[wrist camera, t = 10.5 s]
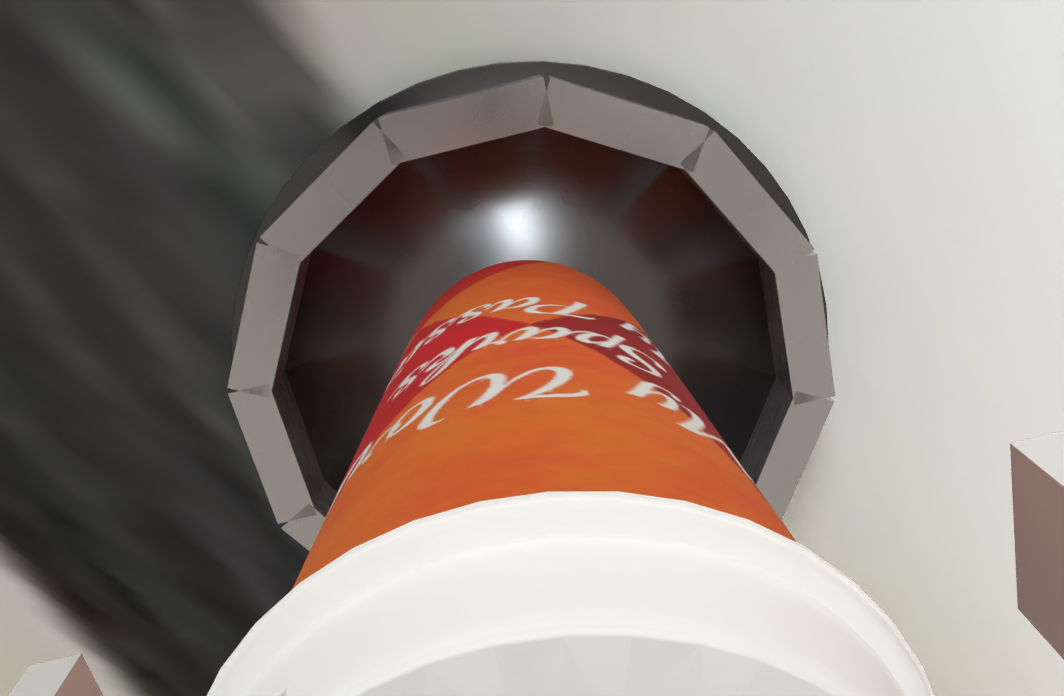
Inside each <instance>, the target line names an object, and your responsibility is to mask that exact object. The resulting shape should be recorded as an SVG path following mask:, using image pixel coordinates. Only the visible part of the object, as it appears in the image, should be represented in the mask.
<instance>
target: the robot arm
mask: <svg viewBox="0 0 1064 696" xmlns="http://www.w3.org/2000/svg"><path fill="white" fill-rule="evenodd" d="M1010 450H1011V471H1012V492H1013V514H1014V535H1015V557H1016V578H1017V599H1018V609H1019V610H1020V611H1021V612H1022V613H1023V615H1024V616H1025V617H1026V618H1027V619H1028V620H1029V621H1030V622H1031V624H1032V625H1033V626H1034V627H1035V628H1036V629H1037V630H1038V631H1039V632H1040V634H1041V635H1042V636H1043V637H1044V638H1045V639H1046V640H1047V641H1048V642H1049V644H1050V645H1051V646H1052V647H1053V648H1054V649H1055V650H1056V651H1057V653H1058V654H1059V655H1060V656H1061V657H1062V658H1063V659H1064V431H1061V432H1057V433H1052V434H1048V435H1043V436H1039V437H1035V438H1030V439H1026V440H1021V441H1017V442H1013V443H1010ZM8 696H103V695H102V693H101V691H100V689H99V687H98V685H97V683H96V681H95V679H94V677H93V675H92V673H91V671H90V669H89V667H88V665H87V663H86V662H85V660H84V658H83V656H82V654H77V655H72V656H68V657H64V658H59V659H55V660H50V661H46V662H41V663H37V664H33V665H29V667H28V668H27V669H26V671H25V672H24V674H23V675H22V676H21V678H20V679H19V681H18V682H17V683H16V685H15V686H14V688H13V689H12V690H11V692H10V693H9V695H8Z"/></svg>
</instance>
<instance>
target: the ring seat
mask: <svg viewBox="0 0 1064 696" xmlns="http://www.w3.org/2000/svg"><path fill="white" fill-rule="evenodd" d="M813 250H814V248H813V246H812V245H811V244H810V242H809V239H808V236H807V233H806V231H805V229H804V227H803V225H802V223H801V222H800V220H799V218H798V216H797V214H796V212H795V210H794V208H793V206H792V204H791V202H790V201H789V199H788V197H787V196H786V194H785V193H784V192H783V190H782V189H781V188H780V186H779V185H778V183H777V182H776V181H775V179H774V178H773V176H772V175H771V174H770V172H769V171H768V170H767V168H766V167H765V166H764V165H763V164H762V163H761V162H760V161H759V160H758V158H757V157H756V156H755V155H754V154H753V153H752V152H751V151H750V150H749V149H748V148H747V147H746V146H745V145H744V144H743V143H742V142H741V141H740V140H739V139H738V138H737V137H736V136H735V135H733V134H732V133H731V132H729V131H728V130H727V129H725V128H724V127H723V126H722V125H720V124H719V123H718V122H716V121H715V120H714V119H713V118H711V117H710V116H709V115H707V114H706V113H705V112H703V111H701V110H699V109H698V108H696V107H694V106H692V105H691V104H689V103H687V102H685V101H684V100H682V99H680V98H678V97H677V96H675V95H673V94H671V93H670V92H667V91H665V90H662V89H660V88H657V87H655V86H652V85H650V84H647V83H645V82H642V81H640V80H637V79H635V78H632V77H630V76H627V75H623V74H619V73H615V72H611V71H607V70H602V69H598V68H594V67H590V66H586V65H578V64H568V63H558V62H548V61H529V62H503V63H495V64H489V65H484V66H478V67H472V68H467V69H461V70H457V71H454V72H451V73H447V74H444V75H441V76H438V77H435V78H432V79H429V80H426V81H423V82H420V83H417V84H415V85H413V86H411V87H409V88H407V89H405V90H403V91H401V92H398V93H396V94H394V95H392V96H390V97H388V98H386V99H384V100H382V101H380V102H378V103H377V104H375V105H374V106H372V107H371V108H369V109H368V110H366V111H365V112H363V113H362V114H360V115H359V116H357V117H356V118H354V119H353V120H351V121H350V122H348V123H347V124H345V125H344V126H342V127H341V128H340V129H339V130H338V131H337V132H335V133H334V134H333V135H332V136H331V137H330V138H329V139H328V140H327V141H325V142H324V143H323V144H322V145H321V146H320V147H319V148H318V149H317V150H315V151H314V152H313V153H312V154H311V155H310V156H309V157H308V158H307V160H306V161H305V162H304V163H303V164H302V166H301V167H300V168H299V169H298V170H297V172H296V173H295V174H294V175H293V176H292V177H291V179H290V180H289V181H288V182H287V183H286V185H285V186H284V187H283V189H282V190H281V192H280V194H279V195H278V197H277V198H276V200H275V202H274V203H273V205H272V206H271V208H270V210H269V211H268V213H267V215H266V216H265V218H264V219H263V221H262V223H261V226H260V228H259V230H258V232H257V235H256V237H255V239H254V242H253V244H252V246H251V248H250V251H249V253H248V255H247V258H246V262H245V265H244V269H243V272H242V276H241V280H240V283H239V287H238V291H237V294H236V302H235V310H234V318H233V326H232V367H231V372H230V377H229V382H228V387H227V388H230V389H231V390H230V391H229V393H228V395H229V398H230V401H231V403H232V406H233V408H234V411H235V414H236V416H237V419H238V421H239V424H240V427H241V429H242V432H243V434H244V437H245V440H246V442H247V445H248V447H249V450H250V453H251V455H252V458H253V460H254V463H255V466H256V468H257V471H258V473H259V476H260V479H261V481H262V484H263V486H264V489H265V492H266V494H267V497H268V499H269V502H270V505H271V507H272V510H273V512H274V515H275V518H276V520H277V523H278V524H279V523H283V522H284V523H283V525H282V529H283V530H284V531H285V532H286V533H288V534H289V535H290V536H291V537H293V538H294V539H295V540H296V541H297V542H299V543H300V544H301V545H302V546H304V547H305V548H306V549H307V550H308V551H310V550H311V548H312V546H313V544H314V542H315V540H316V537H317V535H318V533H319V531H320V529H321V527H322V525H323V522H324V520H325V518H326V516H327V514H328V512H329V510H330V507H331V505H332V503H333V501H334V499H335V497H336V495H337V492H338V490H339V488H340V486H341V484H342V482H343V480H344V477H345V475H346V473H347V471H348V469H349V467H350V465H351V462H352V460H353V458H354V456H355V454H356V452H357V450H358V447H359V445H360V443H361V441H362V439H363V437H364V435H365V433H366V430H367V428H368V426H369V424H370V422H371V420H372V418H373V416H374V414H375V411H376V409H377V407H378V405H379V403H380V401H381V399H382V397H383V395H384V393H385V390H386V388H387V386H388V384H389V382H390V380H391V378H392V376H393V374H394V372H395V370H396V368H397V366H398V364H399V362H400V360H401V358H402V355H403V353H404V351H405V349H406V347H407V346H408V344H409V342H410V340H411V338H412V336H413V334H414V333H415V331H416V329H417V327H418V326H419V324H420V322H421V321H422V319H423V318H424V316H425V315H426V313H427V312H428V310H429V309H430V308H431V307H432V305H433V304H434V303H435V302H436V301H437V300H438V298H439V297H440V296H441V295H442V294H443V293H445V292H446V291H447V290H448V289H449V288H450V287H452V286H453V285H454V284H456V283H457V282H458V281H460V280H462V279H463V278H465V277H466V276H468V275H470V274H472V273H474V272H476V271H478V270H481V269H483V268H486V267H489V266H492V265H495V264H499V263H504V262H509V261H518V260H539V261H547V262H552V263H557V264H561V265H564V266H567V267H570V268H573V269H575V270H578V271H580V272H582V273H584V274H586V275H588V276H589V277H591V278H593V279H595V280H596V281H598V282H599V283H600V284H602V285H603V286H604V287H606V288H607V289H608V290H609V291H610V292H611V293H612V294H613V295H615V296H616V297H617V298H618V299H619V300H620V301H621V303H622V304H623V305H624V306H625V307H626V308H627V309H628V311H629V312H630V313H631V314H632V315H633V317H634V318H635V319H636V320H637V322H638V323H639V324H640V326H641V327H642V328H643V330H644V331H645V332H646V334H647V335H648V336H649V338H650V339H651V340H652V342H653V343H654V344H655V346H656V347H657V348H658V350H659V351H660V352H661V354H662V355H663V356H664V358H665V359H666V360H667V362H668V363H669V365H670V366H671V367H672V369H673V370H674V372H675V373H676V374H677V376H678V377H679V378H680V380H681V381H682V383H683V384H684V385H685V387H686V388H687V390H688V391H689V392H690V394H691V395H692V396H693V398H694V399H695V401H696V402H697V403H698V405H699V406H700V408H701V409H702V410H703V412H704V413H705V414H706V416H707V417H708V419H709V420H710V421H711V423H712V424H713V426H714V427H715V428H716V430H717V431H718V433H719V434H720V436H721V437H722V438H723V440H724V441H725V443H726V444H727V445H728V447H729V448H730V450H731V451H732V452H733V454H734V455H735V457H736V458H737V459H738V461H739V462H740V464H741V465H742V466H743V468H744V469H745V471H746V472H747V473H748V475H749V476H750V478H751V479H752V480H753V482H754V483H755V485H756V486H757V487H758V489H759V490H760V492H761V493H762V494H763V496H764V497H765V499H766V500H767V501H768V503H769V504H770V506H771V507H772V508H773V510H774V511H775V513H776V514H777V515H778V517H779V518H780V520H782V517H783V515H784V513H785V511H786V508H787V506H788V504H789V502H790V499H791V497H792V495H793V493H794V490H795V488H796V486H797V484H798V481H799V479H800V477H801V475H802V472H803V470H804V468H805V466H806V463H807V461H808V459H809V457H810V454H811V452H812V450H813V448H814V445H815V443H816V441H817V439H818V436H819V434H820V432H821V430H822V427H823V425H824V423H825V421H826V418H827V416H828V414H829V412H830V409H831V407H832V405H833V403H834V401H833V400H832V399H831V398H830V397H832V396H835V392H834V385H833V377H832V369H831V361H830V353H829V345H828V329H827V311H826V302H825V296H824V291H823V286H822V281H821V276H820V271H819V267H818V259H817V254H816V253H814V252H813Z"/></svg>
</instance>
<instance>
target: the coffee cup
mask: <svg viewBox="0 0 1064 696" xmlns="http://www.w3.org/2000/svg"><path fill="white" fill-rule="evenodd" d="M207 696H935V695H934V693H933V690H932V688H931V686H930V683H929V681H928V678H927V676H926V673H925V671H924V668H923V666H922V664H921V663H920V661H919V660H918V658H917V657H916V655H915V654H914V652H913V651H912V649H911V648H910V646H909V645H908V643H907V642H906V640H905V639H904V637H903V636H902V634H901V633H900V631H899V630H898V628H897V627H896V625H895V624H894V622H893V621H892V619H891V618H890V617H889V616H888V615H887V614H886V613H885V612H884V611H883V610H882V609H881V608H880V607H879V606H878V605H877V604H876V603H875V602H874V601H873V600H872V599H871V598H870V597H869V596H868V595H867V594H866V593H865V592H864V591H863V590H862V589H861V588H860V587H859V586H858V585H857V584H856V583H855V582H854V581H853V580H852V579H851V578H849V577H848V576H847V575H845V574H844V573H842V572H841V571H839V570H838V569H837V568H835V567H834V566H832V565H831V564H829V563H828V562H827V561H825V560H824V559H822V558H821V557H819V556H818V555H816V554H815V553H814V552H812V551H811V550H809V549H808V548H806V547H805V546H803V545H801V544H799V543H797V542H796V541H795V539H794V538H793V536H792V535H791V534H790V532H789V531H788V529H787V528H786V527H785V525H784V524H783V522H782V521H781V520H780V518H779V517H778V515H777V514H776V513H775V511H774V510H773V508H772V507H771V506H770V504H769V503H768V501H767V500H766V499H765V497H764V496H763V494H762V493H761V492H760V490H759V489H758V487H757V486H756V485H755V483H754V482H753V480H752V479H751V478H750V476H749V475H748V473H747V472H746V471H745V469H744V468H743V466H742V465H741V464H740V462H739V461H738V459H737V458H736V457H735V455H734V454H733V452H732V451H731V450H730V448H729V447H728V445H727V444H726V443H725V441H724V440H723V438H722V437H721V436H720V434H719V433H718V431H717V430H716V428H715V427H714V426H713V424H712V423H711V421H710V420H709V419H708V417H707V416H706V414H705V413H704V412H703V410H702V409H701V408H700V406H699V405H698V403H697V402H696V401H695V399H694V398H693V396H692V395H691V394H690V392H689V391H688V390H687V388H686V387H685V385H684V384H683V383H682V381H681V380H680V378H679V377H678V376H677V374H676V373H675V372H674V370H673V369H672V367H671V366H670V365H669V363H668V362H667V360H666V359H665V358H664V356H663V355H662V354H661V352H660V351H659V350H658V348H657V347H656V346H655V344H654V343H653V342H652V340H651V339H650V338H649V336H648V335H647V334H646V332H645V331H644V330H643V328H642V327H641V326H640V324H639V323H638V322H637V320H636V319H635V318H634V317H633V315H632V314H631V313H630V312H629V311H628V309H627V308H626V307H625V306H624V305H623V304H622V303H621V301H620V300H619V299H618V298H617V297H616V296H615V295H613V294H612V293H611V292H610V291H609V290H608V289H607V288H606V287H604V286H603V285H602V284H600V283H599V282H598V281H596V280H595V279H593V278H591V277H589V276H588V275H586V274H584V273H582V272H580V271H578V270H575V269H573V268H570V267H567V266H564V265H561V264H557V263H552V262H547V261H539V260H518V261H509V262H504V263H499V264H495V265H492V266H489V267H486V268H483V269H481V270H478V271H476V272H474V273H472V274H470V275H468V276H466V277H465V278H463V279H462V280H460V281H458V282H457V283H456V284H454V285H453V286H452V287H450V288H449V289H448V290H447V291H446V292H445V293H443V294H442V295H441V296H440V297H439V298H438V300H437V301H436V302H435V303H434V304H433V305H432V307H431V308H430V309H429V310H428V312H427V313H426V315H425V316H424V318H423V319H422V321H421V322H420V324H419V326H418V327H417V329H416V331H415V333H414V334H413V336H412V338H411V340H410V342H409V344H408V346H407V347H406V349H405V351H404V353H403V355H402V358H401V360H400V362H399V364H398V366H397V368H396V370H395V372H394V374H393V376H392V378H391V380H390V382H389V384H388V386H387V388H386V390H385V393H384V395H383V397H382V399H381V401H380V403H379V405H378V407H377V409H376V411H375V414H374V416H373V418H372V420H371V422H370V424H369V426H368V428H367V430H366V433H365V435H364V437H363V439H362V441H361V443H360V445H359V447H358V450H357V452H356V454H355V456H354V458H353V460H352V462H351V465H350V467H349V469H348V471H347V473H346V475H345V477H344V480H343V482H342V484H341V486H340V488H339V490H338V492H337V495H336V497H335V499H334V501H333V503H332V505H331V507H330V510H329V512H328V514H327V516H326V518H325V520H324V522H323V525H322V527H321V529H320V531H319V533H318V535H317V537H316V540H315V542H314V544H313V546H312V548H311V550H310V552H309V554H308V557H307V559H306V561H305V563H304V565H303V567H302V569H301V572H300V574H299V576H298V578H297V580H296V582H295V584H294V586H293V589H292V590H291V591H290V592H289V593H288V594H287V595H286V596H285V597H284V598H282V599H281V600H280V601H279V602H278V603H277V604H276V605H275V606H274V607H273V608H271V609H270V610H269V611H268V612H267V613H266V614H265V615H264V616H263V617H262V618H261V619H259V620H258V621H257V622H256V623H255V624H254V626H253V627H252V628H251V630H250V631H249V632H248V633H247V635H246V636H245V637H244V639H243V640H242V641H241V642H240V644H239V645H238V646H237V648H236V649H235V650H234V652H233V653H232V654H231V655H230V657H229V658H228V659H227V661H226V662H225V663H224V664H223V666H222V667H221V669H220V671H219V673H218V675H217V677H216V679H215V681H214V682H213V684H212V686H211V688H210V690H209V692H208V694H207Z"/></svg>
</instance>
